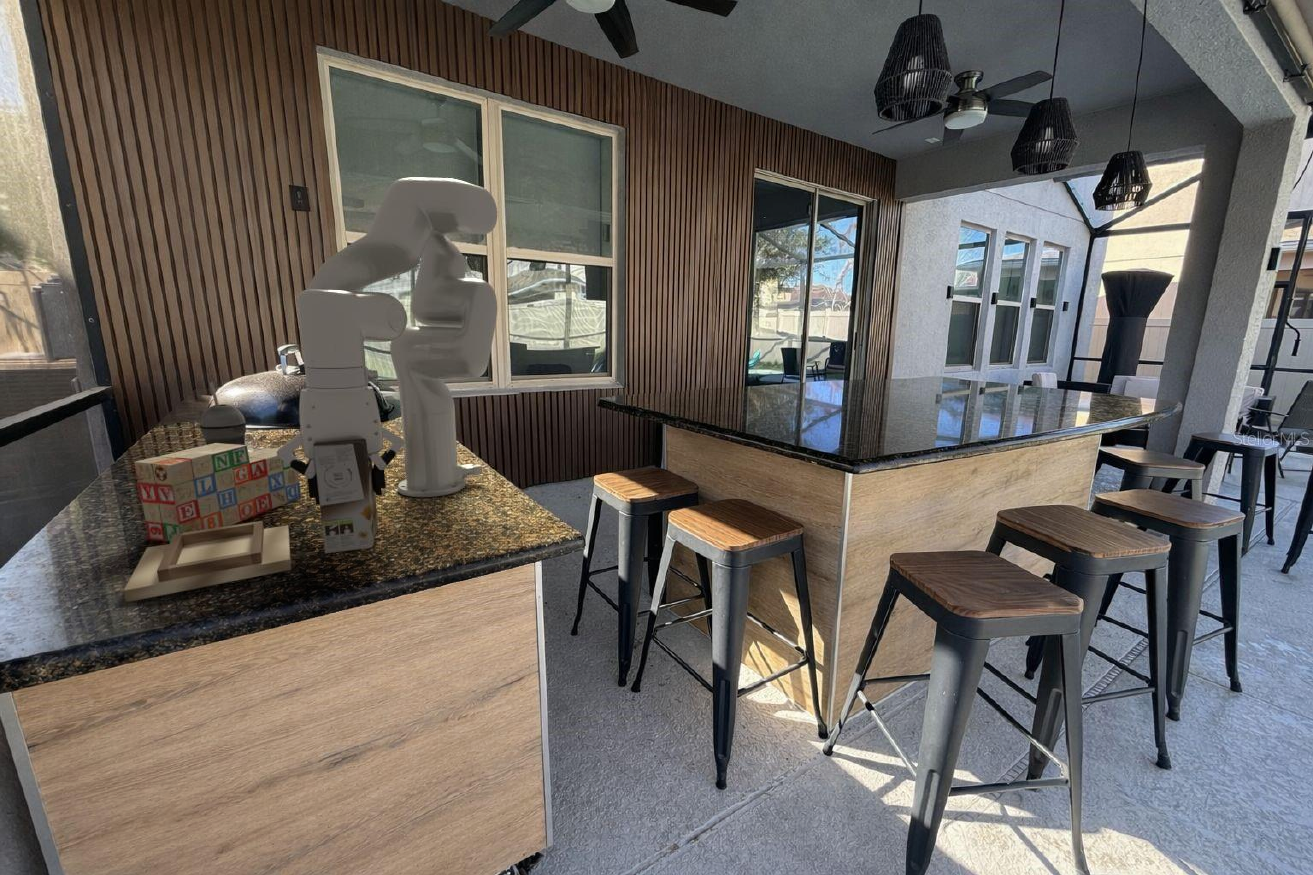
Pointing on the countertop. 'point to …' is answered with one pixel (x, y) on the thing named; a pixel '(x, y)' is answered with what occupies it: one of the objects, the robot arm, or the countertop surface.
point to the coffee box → (346, 495)
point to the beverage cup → (222, 423)
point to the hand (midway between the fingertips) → (349, 496)
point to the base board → (210, 559)
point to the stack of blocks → (212, 487)
